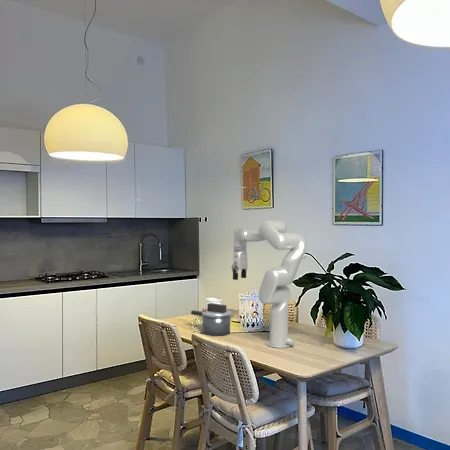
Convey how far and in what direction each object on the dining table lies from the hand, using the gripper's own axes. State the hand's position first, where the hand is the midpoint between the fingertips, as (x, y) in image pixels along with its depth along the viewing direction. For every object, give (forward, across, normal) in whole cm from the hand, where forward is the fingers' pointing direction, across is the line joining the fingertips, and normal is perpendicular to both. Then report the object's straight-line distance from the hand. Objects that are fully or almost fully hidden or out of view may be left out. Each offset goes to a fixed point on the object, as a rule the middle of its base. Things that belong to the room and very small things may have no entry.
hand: (239, 278), depth 262 cm
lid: (+19, -12, +8) cm, 24 cm away
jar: (+31, +8, +23) cm, 39 cm away
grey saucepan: (+30, -12, +12) cm, 35 cm away
